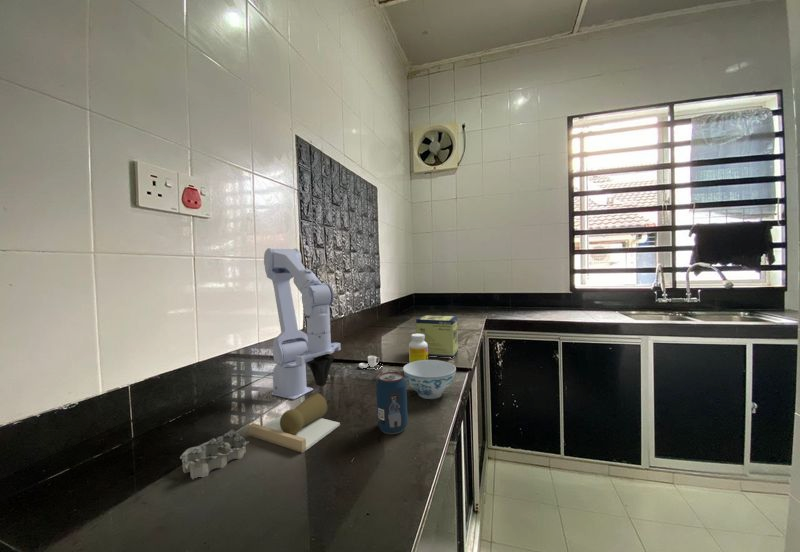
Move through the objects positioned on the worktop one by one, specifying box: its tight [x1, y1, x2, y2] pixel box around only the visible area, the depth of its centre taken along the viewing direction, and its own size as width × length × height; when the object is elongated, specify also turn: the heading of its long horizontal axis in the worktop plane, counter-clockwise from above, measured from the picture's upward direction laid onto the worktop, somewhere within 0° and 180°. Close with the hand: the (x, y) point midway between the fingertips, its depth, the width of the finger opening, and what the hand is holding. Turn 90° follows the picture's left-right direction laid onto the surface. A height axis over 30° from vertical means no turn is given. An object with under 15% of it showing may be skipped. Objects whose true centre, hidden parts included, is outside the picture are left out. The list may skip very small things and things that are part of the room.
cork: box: [280, 392, 328, 435], centre depth 73 cm, size 6×6×11 cm
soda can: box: [375, 371, 408, 435], centre depth 71 cm, size 7×7×12 cm
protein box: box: [415, 315, 459, 358], centre depth 130 cm, size 10×16×16 cm
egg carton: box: [179, 429, 250, 480], centre depth 61 cm, size 10×7×4 cm
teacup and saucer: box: [357, 355, 384, 370], centre depth 117 cm, size 9×8×4 cm
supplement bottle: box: [408, 333, 429, 363], centre depth 110 cm, size 7×7×13 cm
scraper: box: [248, 414, 341, 454], centre depth 72 cm, size 16×12×2 cm
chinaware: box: [402, 359, 457, 400], centre depth 89 cm, size 15×15×8 cm
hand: (321, 384), depth 79 cm, fingers closed
